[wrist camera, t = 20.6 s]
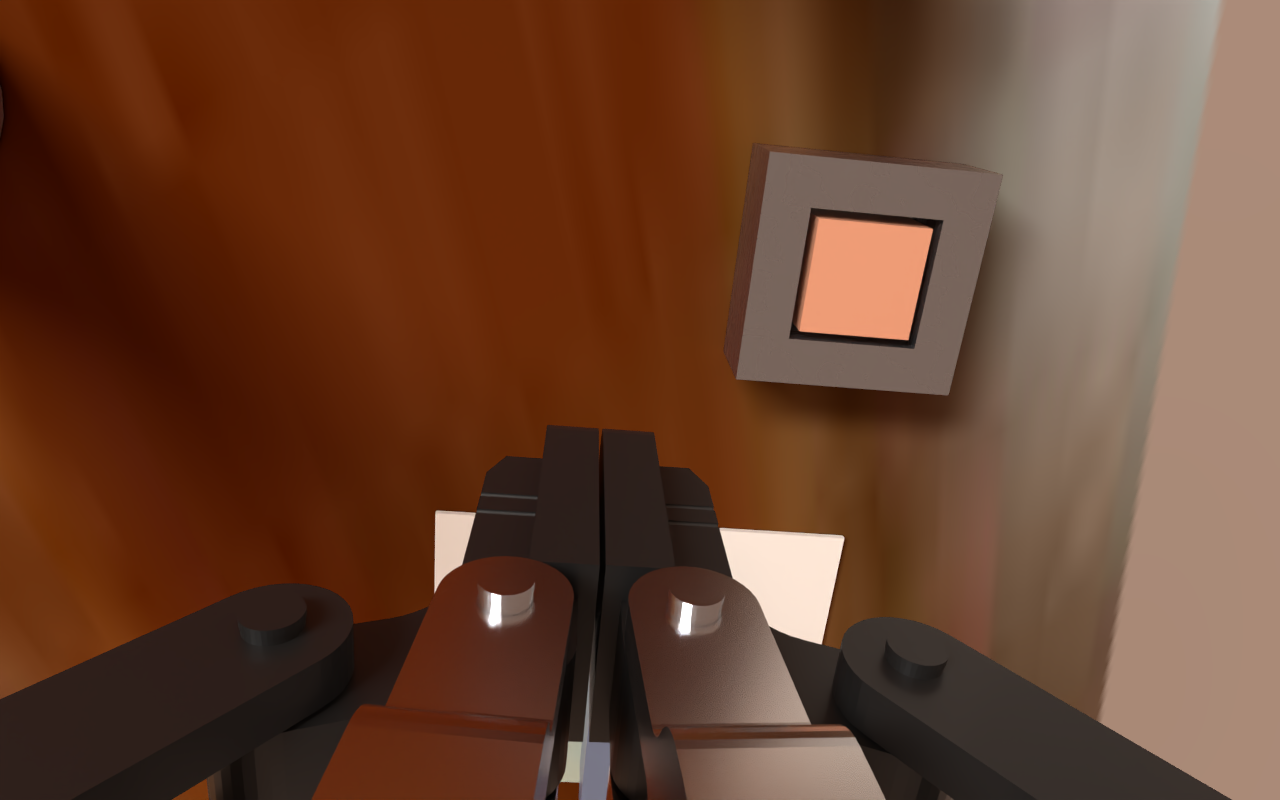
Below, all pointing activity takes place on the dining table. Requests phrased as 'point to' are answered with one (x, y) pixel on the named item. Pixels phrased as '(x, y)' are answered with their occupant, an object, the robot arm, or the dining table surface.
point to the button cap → (860, 274)
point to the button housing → (774, 256)
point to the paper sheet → (760, 560)
